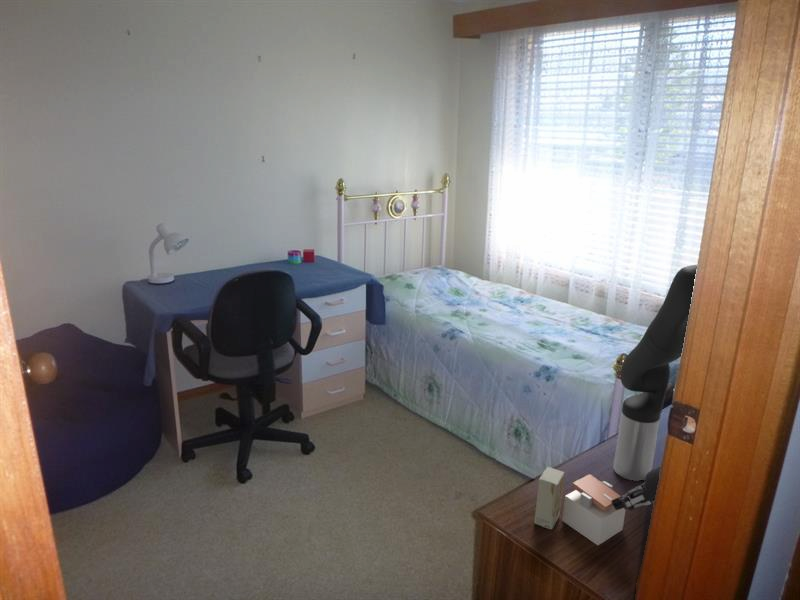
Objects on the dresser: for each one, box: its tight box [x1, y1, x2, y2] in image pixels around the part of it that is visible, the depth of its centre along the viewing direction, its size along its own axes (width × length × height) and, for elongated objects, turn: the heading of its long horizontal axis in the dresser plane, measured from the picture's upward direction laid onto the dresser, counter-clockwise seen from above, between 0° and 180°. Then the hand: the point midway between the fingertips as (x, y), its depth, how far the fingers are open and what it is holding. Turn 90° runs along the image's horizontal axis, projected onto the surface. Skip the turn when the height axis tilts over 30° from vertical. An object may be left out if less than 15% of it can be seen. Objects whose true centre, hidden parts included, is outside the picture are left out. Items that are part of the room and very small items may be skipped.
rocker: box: [571, 473, 621, 511], centre depth 135 cm, size 6×9×2 cm, turn 36°
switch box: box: [561, 480, 627, 546], centre depth 137 cm, size 9×10×10 cm
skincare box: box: [534, 466, 565, 530], centre depth 138 cm, size 6×4×12 cm
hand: (615, 504), depth 131 cm, fingers closed
